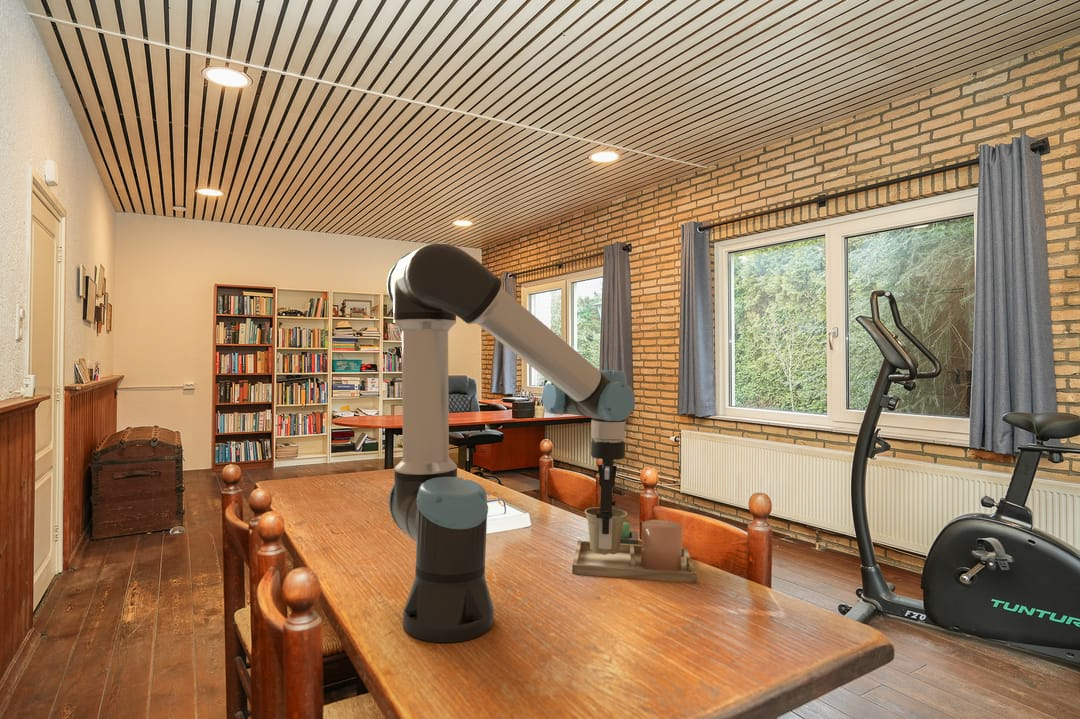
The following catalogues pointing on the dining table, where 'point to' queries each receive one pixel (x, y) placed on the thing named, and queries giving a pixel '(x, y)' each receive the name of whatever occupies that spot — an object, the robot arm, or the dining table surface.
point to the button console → (632, 539)
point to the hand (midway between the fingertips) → (605, 541)
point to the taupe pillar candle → (661, 545)
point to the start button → (626, 530)
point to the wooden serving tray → (628, 564)
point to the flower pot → (593, 525)
